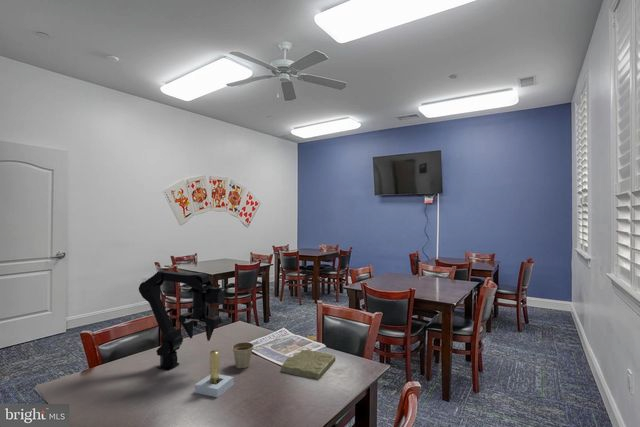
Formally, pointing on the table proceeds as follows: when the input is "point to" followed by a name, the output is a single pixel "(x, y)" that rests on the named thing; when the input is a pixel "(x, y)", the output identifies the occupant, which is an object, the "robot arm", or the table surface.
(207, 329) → the robot arm
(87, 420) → the table surface
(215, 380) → the pin
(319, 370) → the decorative tile
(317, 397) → the table surface
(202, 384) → the socket block
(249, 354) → the flower pot
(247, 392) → the table surface
